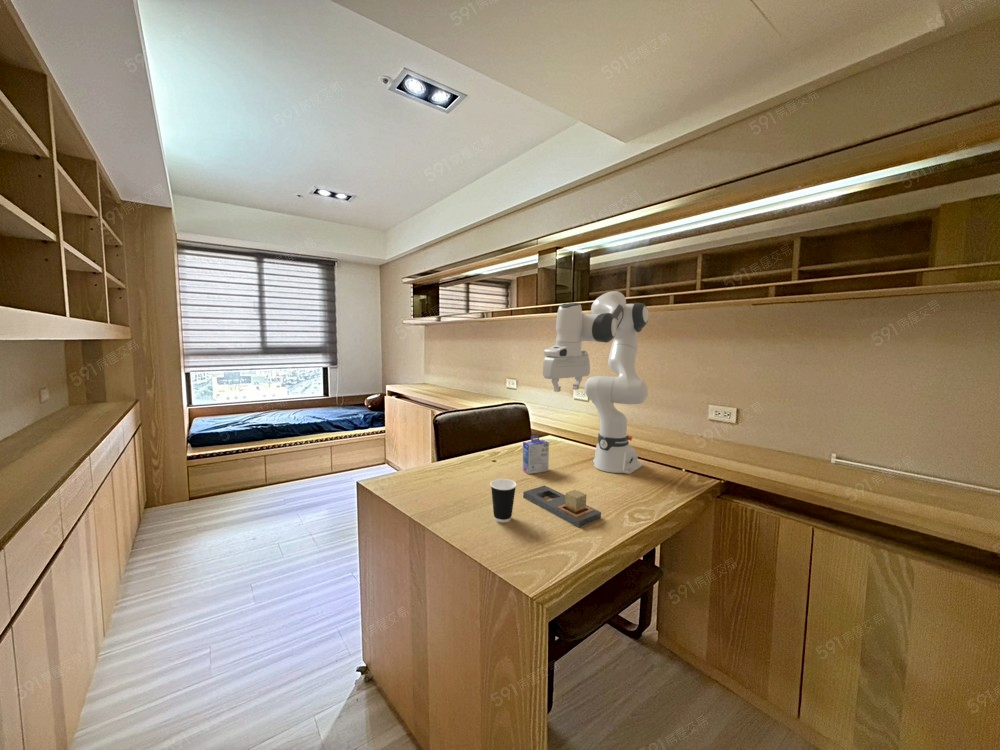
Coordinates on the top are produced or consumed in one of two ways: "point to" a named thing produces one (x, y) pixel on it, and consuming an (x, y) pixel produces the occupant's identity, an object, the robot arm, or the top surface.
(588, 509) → the grey peg board
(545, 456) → the ink cartridge box
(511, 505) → the dixie cup
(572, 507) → the tan wooden block
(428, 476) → the top surface
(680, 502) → the top surface
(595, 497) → the top surface
